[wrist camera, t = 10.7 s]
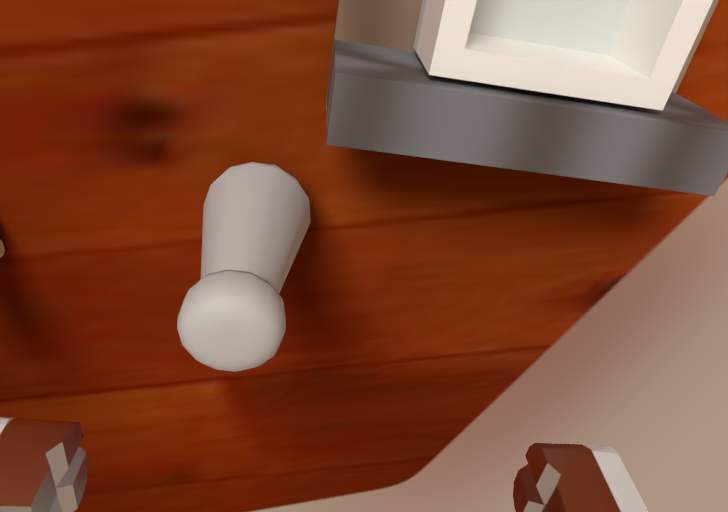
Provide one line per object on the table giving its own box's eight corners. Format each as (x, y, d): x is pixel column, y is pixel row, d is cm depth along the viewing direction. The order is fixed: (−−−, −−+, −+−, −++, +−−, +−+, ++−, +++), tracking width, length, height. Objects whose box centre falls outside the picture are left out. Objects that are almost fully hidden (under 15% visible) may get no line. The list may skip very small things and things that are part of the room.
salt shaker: (262, 126, 30) (225, 255, 19) (332, 197, 33) (333, 345, 22) (191, 190, 32) (120, 339, 21) (262, 252, 35) (231, 414, 24)
